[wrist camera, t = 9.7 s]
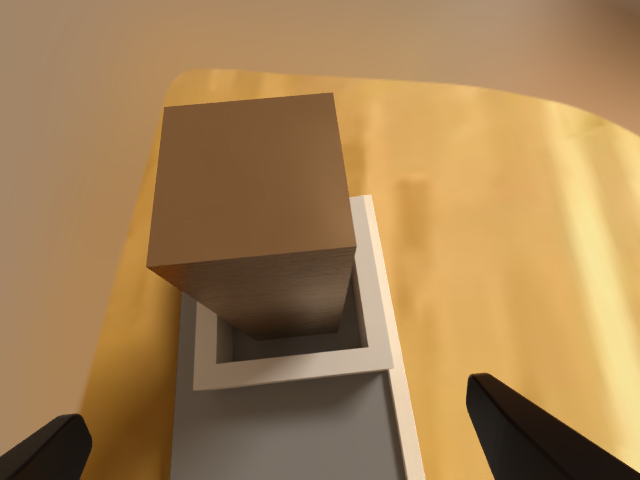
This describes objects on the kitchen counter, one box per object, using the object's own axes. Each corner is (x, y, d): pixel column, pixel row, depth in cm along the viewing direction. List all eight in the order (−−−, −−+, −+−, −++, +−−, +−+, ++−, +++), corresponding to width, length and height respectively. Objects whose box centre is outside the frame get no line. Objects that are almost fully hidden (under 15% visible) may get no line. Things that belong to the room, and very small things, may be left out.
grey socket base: (440, 596, 15) (477, 664, 11) (169, 631, 15) (117, 713, 11) (368, 206, 23) (376, 171, 19) (192, 223, 23) (166, 192, 19)
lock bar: (337, 332, 19) (357, 246, 7) (256, 341, 19) (146, 267, 7) (328, 257, 20) (333, 92, 9) (255, 264, 20) (164, 107, 9)
